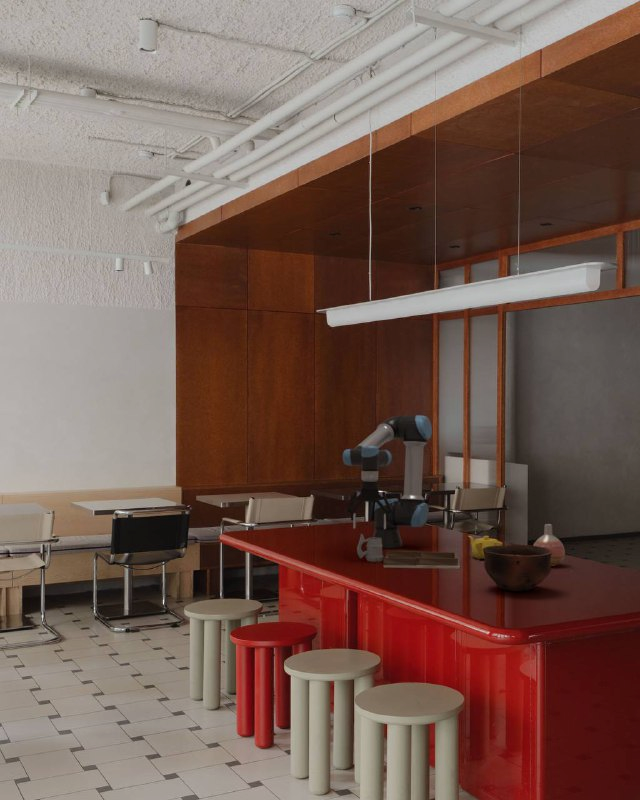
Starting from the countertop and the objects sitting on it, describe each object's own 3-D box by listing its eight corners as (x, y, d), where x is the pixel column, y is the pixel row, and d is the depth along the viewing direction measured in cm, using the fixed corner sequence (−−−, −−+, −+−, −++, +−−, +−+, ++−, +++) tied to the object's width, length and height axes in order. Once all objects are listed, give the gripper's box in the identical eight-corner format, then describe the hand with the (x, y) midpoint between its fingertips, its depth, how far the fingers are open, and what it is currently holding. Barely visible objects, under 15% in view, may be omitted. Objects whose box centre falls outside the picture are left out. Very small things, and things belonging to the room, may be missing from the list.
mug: (385, 561, 399) (385, 534, 399) (359, 562, 397) (359, 535, 397) (380, 558, 406) (380, 532, 407) (355, 559, 404) (355, 532, 404)
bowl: (509, 598, 318) (508, 555, 318) (470, 586, 341) (470, 546, 341) (566, 593, 328) (565, 551, 328) (524, 581, 351) (524, 542, 351)
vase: (530, 567, 383) (530, 525, 383) (534, 562, 396) (533, 522, 396) (563, 569, 378) (563, 527, 378) (566, 564, 391) (566, 523, 391)
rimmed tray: (386, 559, 404) (386, 550, 404) (458, 560, 400) (458, 551, 400) (383, 567, 384) (383, 557, 384) (459, 568, 380) (459, 559, 380)
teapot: (472, 561, 399) (471, 538, 399) (467, 556, 412) (467, 534, 412) (503, 561, 399) (502, 538, 399) (497, 556, 412) (497, 534, 412)
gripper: (341, 480, 400) (340, 528, 399) (397, 481, 397) (397, 529, 396) (342, 479, 407) (342, 526, 407) (398, 480, 404) (398, 527, 404)
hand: (369, 528), depth 402 cm, fingers open, 13 cm apart
